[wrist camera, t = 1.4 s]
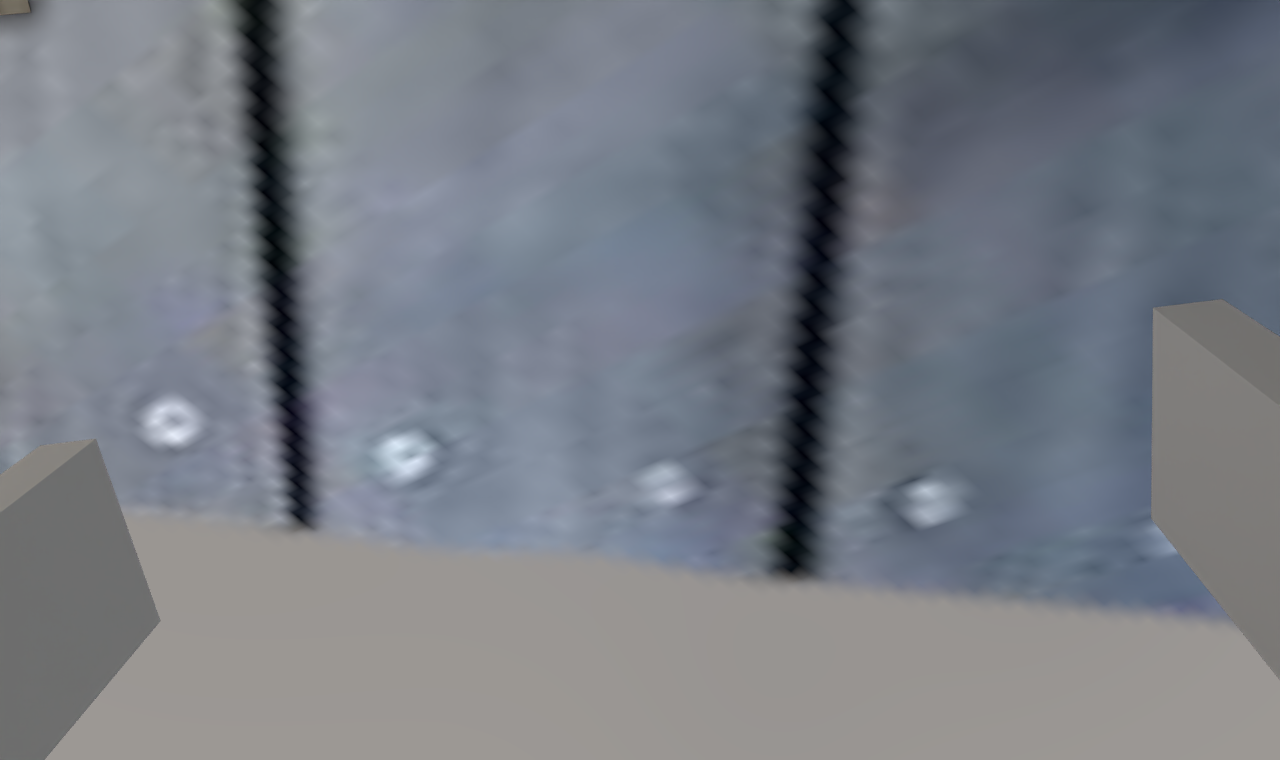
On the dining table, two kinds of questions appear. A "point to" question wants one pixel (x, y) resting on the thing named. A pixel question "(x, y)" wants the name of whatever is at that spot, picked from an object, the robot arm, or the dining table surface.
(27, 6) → the board
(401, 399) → the dining table surface
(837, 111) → the dining table surface
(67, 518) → the robot arm
